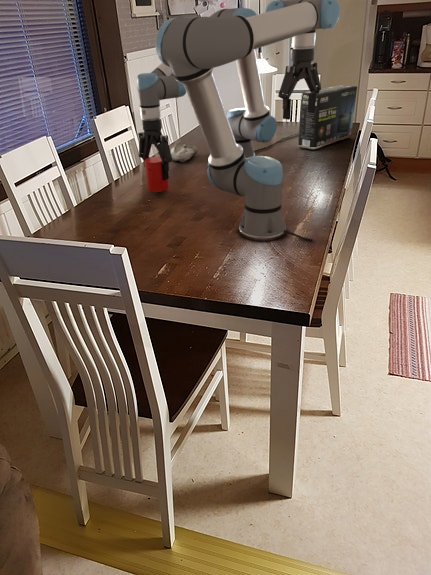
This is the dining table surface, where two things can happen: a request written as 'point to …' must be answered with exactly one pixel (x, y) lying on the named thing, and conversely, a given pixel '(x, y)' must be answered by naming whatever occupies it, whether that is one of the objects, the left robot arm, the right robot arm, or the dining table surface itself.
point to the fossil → (182, 152)
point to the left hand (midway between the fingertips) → (157, 177)
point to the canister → (155, 175)
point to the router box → (327, 115)
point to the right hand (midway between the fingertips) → (299, 115)
